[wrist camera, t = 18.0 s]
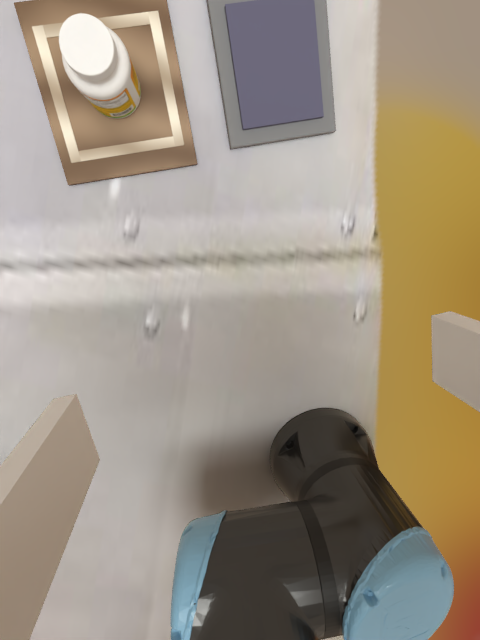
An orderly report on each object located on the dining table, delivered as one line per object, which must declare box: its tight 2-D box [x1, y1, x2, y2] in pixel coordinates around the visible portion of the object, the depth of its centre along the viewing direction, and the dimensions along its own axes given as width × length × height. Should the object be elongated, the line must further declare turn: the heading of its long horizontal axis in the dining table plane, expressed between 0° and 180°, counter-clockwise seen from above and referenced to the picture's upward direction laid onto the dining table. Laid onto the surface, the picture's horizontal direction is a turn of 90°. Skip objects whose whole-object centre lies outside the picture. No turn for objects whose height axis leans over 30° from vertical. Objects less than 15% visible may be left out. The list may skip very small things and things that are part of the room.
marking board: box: [14, 0, 197, 185], centre depth 35 cm, size 16×14×1 cm
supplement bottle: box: [59, 13, 141, 119], centre depth 30 cm, size 5×5×10 cm
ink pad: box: [207, 0, 336, 149], centre depth 36 cm, size 14×12×2 cm
